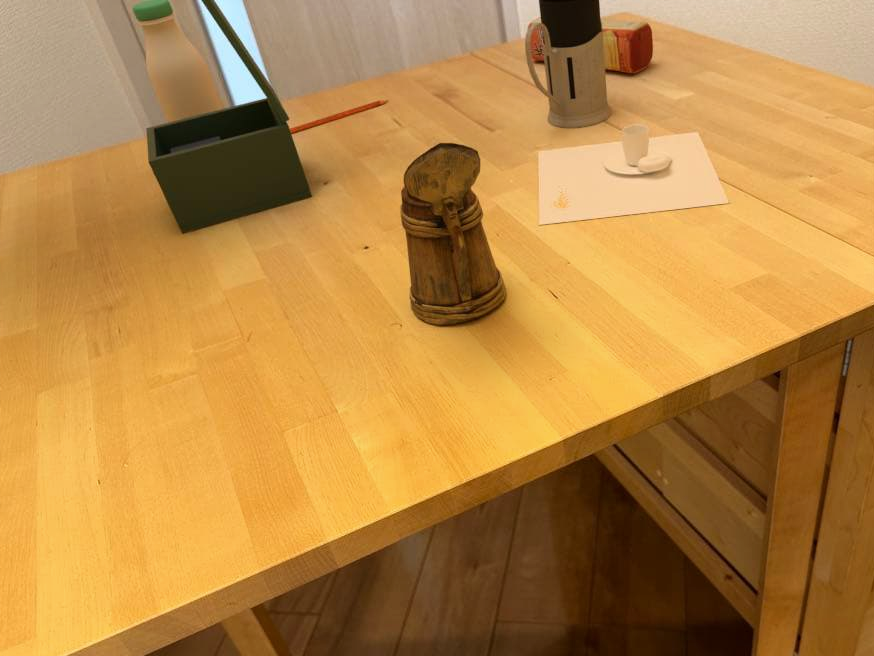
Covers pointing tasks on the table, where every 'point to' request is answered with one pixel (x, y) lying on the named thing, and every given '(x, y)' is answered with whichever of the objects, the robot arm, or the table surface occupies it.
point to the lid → (245, 57)
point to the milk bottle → (175, 64)
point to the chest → (226, 164)
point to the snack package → (613, 44)
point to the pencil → (337, 116)
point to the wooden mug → (448, 238)
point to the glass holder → (572, 62)
